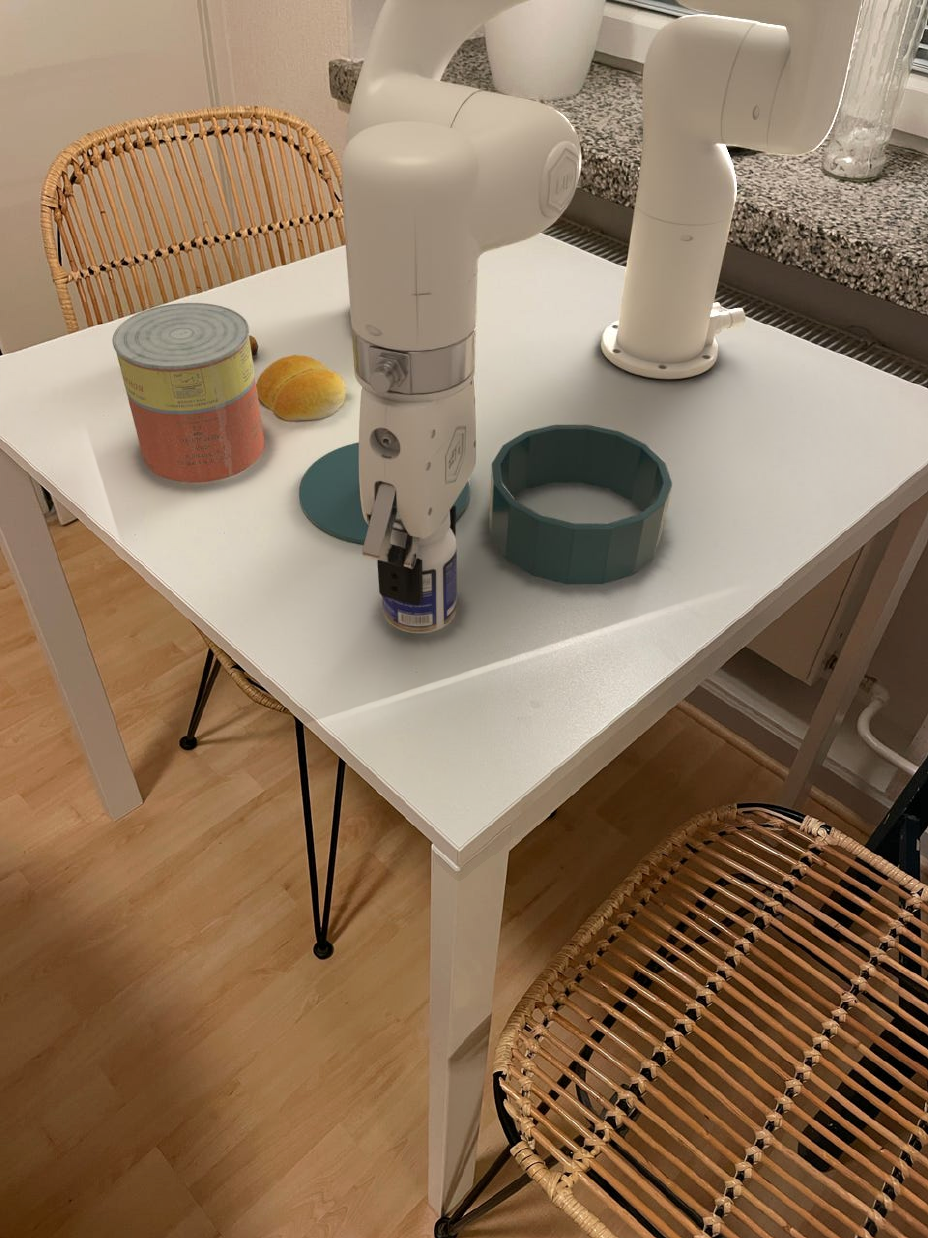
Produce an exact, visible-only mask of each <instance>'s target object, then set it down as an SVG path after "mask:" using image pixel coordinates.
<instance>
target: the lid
mask: <svg viewBox="0 0 928 1238" xmlns="http://www.w3.org/2000/svg"><path fill="white" fill-rule="evenodd" d="M470 496H471V484H470V479H469V480H468V482H467V483H466V485H465V487H464V488H463V490H462V492H461V493H460V495H459V496H458V498H457V500H456V501H455V503H454V504H453V506H456V521H458V519H459V518H460V517H461V516H462V515H463V513H464V512H465V510H466V508H467V507H468V504H469V501H470ZM298 498H299V503H300V507H301V509H302V512H303V513H304V514H305V516H306V518H308V520H309V521H310V522H311V523H312V524H313V525H314V526H316V527H317V528H318V529H320V530H321V531H322V532H324V533H326V534H327V535H329V536H333V537H334V538H337V539H340V540H343V541H346V542H350V543H355V544H360V545H364V542H365V539H366V535H367V531H368V527H369V525H368V524H367V522H366V521H365V519H364V516H363V512H362V506H361V497H360V484H359V441H358V442H353V443H350V444H346V445H343V446H341V447H337V448H336V449H334V450H332V451H329V452H328V453H326V454H324V455H323V456H321V457H320V458H318V459H317V460H315V461H314V462H313V463H312V464H311V465H310V466H309V467H308V469H307V470H306V472H305V473H304V474H303V476H302V478H301V480H300V483H299V487H298Z"/></svg>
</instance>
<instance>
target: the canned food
mask: <svg viewBox="0 0 928 1238" xmlns="http://www.w3.org/2000/svg"><path fill="white" fill-rule="evenodd" d="M249 335H250V326H249V322H248V321H247V319H246V318H245V317H243V316H242V315H241V314H240V313H239V312H236V311H235V310H232V309H231V308H229V307H225V306H222V305H218V304H212V303H207V302H206V303H205V302H181V303H180V302H179V303H171V304H165V305H160V306H155V307H152V308H149V309H146V310H144V311H141V312H138V313H136V314H134V315H132V316H130V317H129V318H127V319H126V320H124V321H123V322H122V323H121V324H119V326H118V327H117V328H116V329H115V330H114V333H113V335H112V346H113V349H114V351H115V353H116V357H117V360H118V364H119V369H120V372H121V377H122V380H123V384H124V388H125V392H126V396H127V400H128V405H129V407H130V411H131V414H132V420H133V423H134V428H135V432H136V435H137V440H138V443H139V447H140V451H141V454H142V459H143V461H144V464H145V466H146V467H147V468H148V469H149V470H150V471H151V472H153V473H154V474H156V475H157V476H159V477H161V478H165V479H167V480H171V481H174V482H181V483H208V482H213V481H219V480H223V479H226V478H229V477H232V476H234V475H237V474H239V473H241V472H243V471H245V470H247V469H248V468H249V467H250V468H251V466H252V465H254V463H256V462H257V461H258V459H259V458H260V457H261V455H263V452H264V449H265V434H264V429H263V420H262V414H261V409H260V408H261V407H260V399H259V397H258V394H257V387H256V383H257V380H256V374H255V367H254V360H253V356H252V353H251V346H250V339H249Z"/></svg>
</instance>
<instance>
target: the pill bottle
mask: <svg viewBox="0 0 928 1238" xmlns="http://www.w3.org/2000/svg"><path fill="white" fill-rule="evenodd" d="M396 516H398V517H400V516H399V514H398V512H397V514H396ZM406 538H407V533H404V532H400V531H397V530H393V529H392V533H391V538H390V543H391V544H393V545H397V546H400V547H402V548H405V546H406ZM457 548H458V545H457V537H456V538H455V535H454V533H453V531H452V530H451V528H450V511H449V512H448V514H447V515H446V517H445V518H444V520H443V521H442V523H441V524H440V526H439V527H438V528H437V530H436V531H435V532H434V533H433V534H432V535H430V536H429V537H427V538H425V539H421V538H419V546H418V554H417V558H418V559H420V560H422V578H423V599H422V601H421V603H420V604H419V605H412V604H409V603H405V602H401V601H398V600H394V599H391V598H387V597H384V596H382V595H381V602H382V612H383V615H384V617H385V620H387V622H388V623H389V624H390V625H392V626H393V627H394V628H396V629H398V630H399V631H402V632H407V633H411V634H429V633H433V632H436V631H439V630H441V629H443V628H444V627H446V626H448V625H449V624H450V623H451V622H452V621H453V620H454V618H455V615H456V613H457V608H458V607H457V605H458V604H457V601H458V593H457V592H458V591H457V589H458V583H457V582H458V578H457V575H458V574H457V573H458V571H457V568H458V566H457V565H458V563H457V562H458V561H457V560H458V559H457V558H458V556H457V555H458V553H457V552H458V551H457Z"/></svg>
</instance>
